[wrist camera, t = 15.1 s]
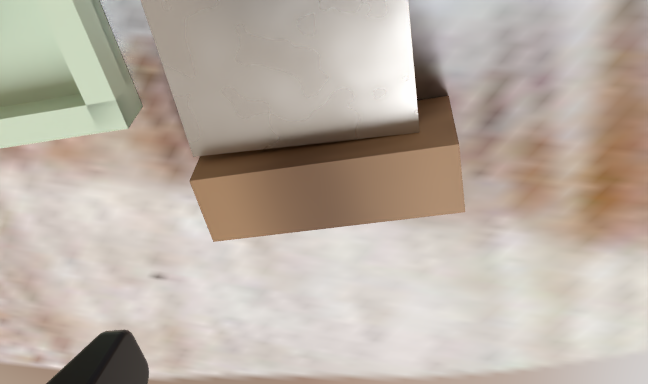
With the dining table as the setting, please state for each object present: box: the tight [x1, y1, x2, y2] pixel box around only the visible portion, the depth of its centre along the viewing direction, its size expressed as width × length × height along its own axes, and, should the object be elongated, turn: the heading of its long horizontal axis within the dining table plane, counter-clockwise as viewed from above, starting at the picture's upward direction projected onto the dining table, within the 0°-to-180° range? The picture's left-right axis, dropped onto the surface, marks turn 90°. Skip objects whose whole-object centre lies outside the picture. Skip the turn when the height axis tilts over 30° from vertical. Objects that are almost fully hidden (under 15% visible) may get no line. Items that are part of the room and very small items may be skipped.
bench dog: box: [190, 96, 465, 242], centre depth 20 cm, size 8×2×3 cm, turn 101°
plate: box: [141, 0, 420, 157], centre depth 18 cm, size 7×7×2 cm
